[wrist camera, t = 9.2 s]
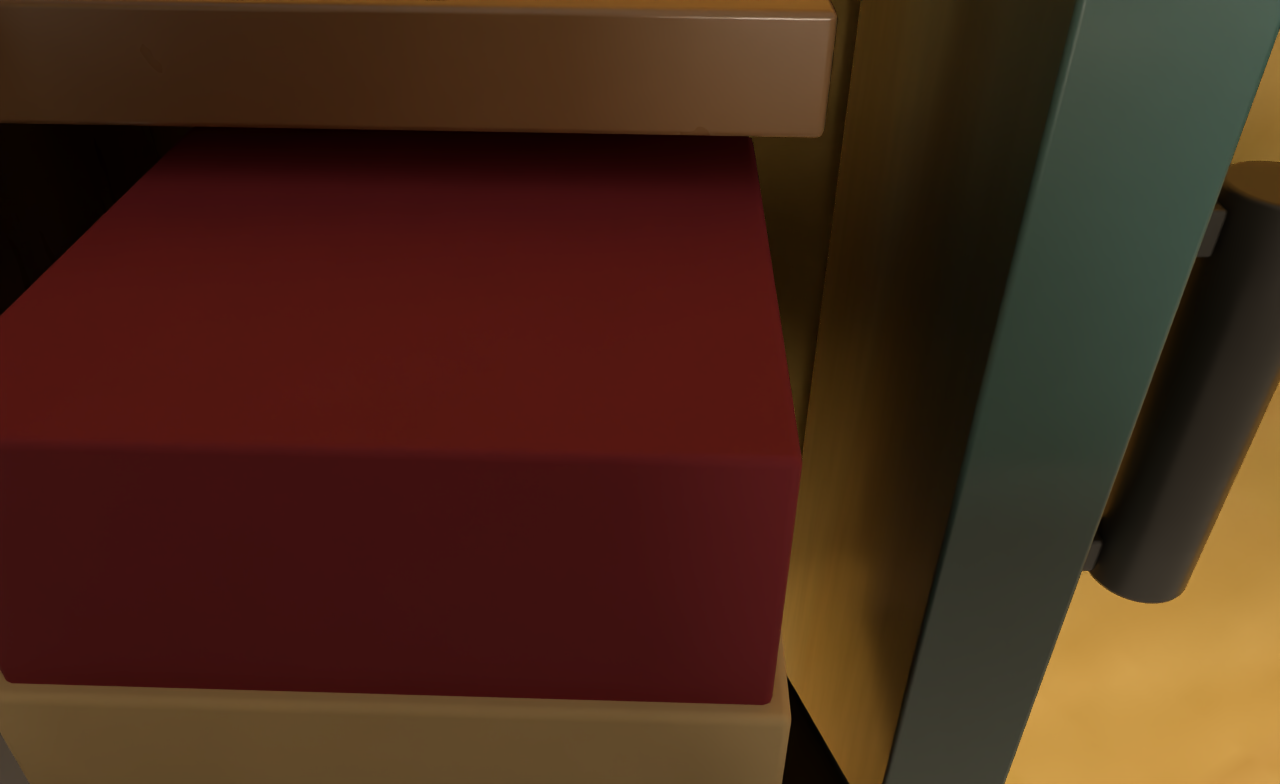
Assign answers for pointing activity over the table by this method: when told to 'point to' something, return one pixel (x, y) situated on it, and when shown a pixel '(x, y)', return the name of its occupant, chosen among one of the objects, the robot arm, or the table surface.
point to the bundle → (403, 468)
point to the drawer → (829, 274)
